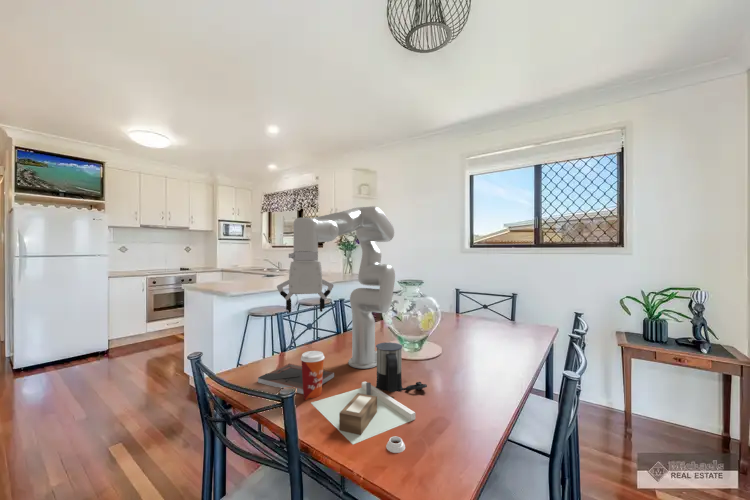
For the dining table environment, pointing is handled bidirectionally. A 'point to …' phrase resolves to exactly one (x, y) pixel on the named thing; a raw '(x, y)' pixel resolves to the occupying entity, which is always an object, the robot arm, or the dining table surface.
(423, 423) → the dining table surface
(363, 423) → the brown rectangular box
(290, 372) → the picture frame
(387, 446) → the white flanged bushing
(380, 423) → the wall board
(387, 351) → the milk frother
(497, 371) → the dining table surface
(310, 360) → the paper cup
